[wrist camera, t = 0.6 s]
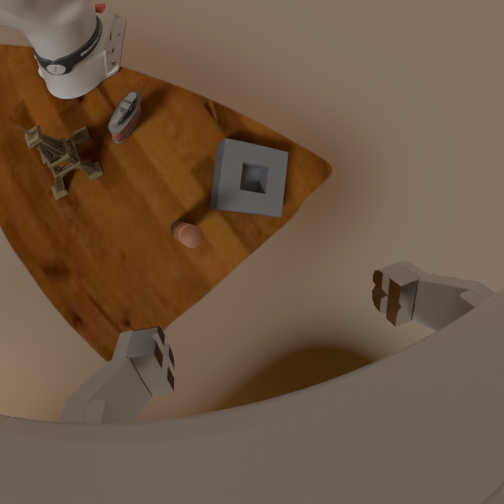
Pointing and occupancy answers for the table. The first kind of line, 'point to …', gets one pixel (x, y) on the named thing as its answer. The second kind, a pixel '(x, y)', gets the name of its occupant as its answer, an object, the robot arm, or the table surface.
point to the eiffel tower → (62, 156)
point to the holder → (249, 178)
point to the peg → (187, 234)
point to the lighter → (125, 117)
